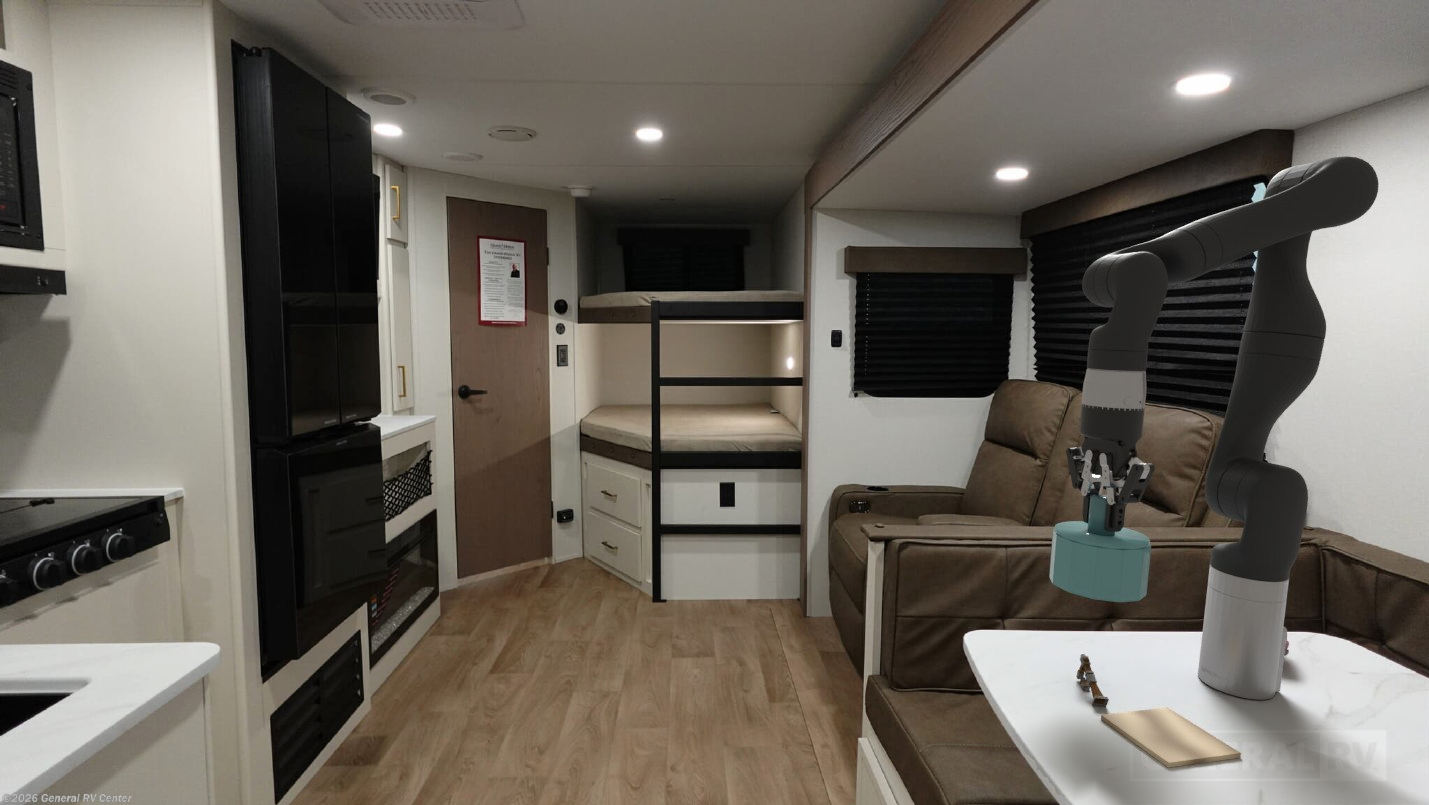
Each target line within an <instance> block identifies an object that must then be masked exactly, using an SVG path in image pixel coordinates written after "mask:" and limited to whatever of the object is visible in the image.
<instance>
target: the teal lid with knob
mask: <svg viewBox="0 0 1429 805" xmlns="http://www.w3.org/2000/svg"><path fill="white" fill-rule="evenodd" d="M1106 504H1108V502H1107V494H1101V495H1100V494H1093V495H1090V506H1089V517H1088V524H1087V523H1085V522H1084V521H1082V520H1073V521H1072V520H1071V521H1061V522H1059V523H1056V524H1055V525H1054V528H1053V529H1052V536H1051V537H1052V538H1051V549H1050V550H1051V551H1050V559H1049V560H1050V562H1049V574H1048V577H1049V579H1050V581H1051V583H1052V585H1054V586H1055V587H1057V588H1060V589H1061V590H1063V591H1065V592H1067V593H1070V594H1073V595H1077V596H1080V597H1084V598H1088V599H1090V600H1097V601H1098V600H1099V601H1105V602H1106V601H1107V602H1114V603H1127V602H1129V603H1130V602H1140V601H1141V600H1142V599H1144V598H1145V597H1146V596H1147V593H1148V583H1149V582H1148V581H1149V573H1150V563H1151V562H1150V561H1151V555H1152V554H1151V552H1152V544H1151V543H1150V542H1151V539H1150V537H1148V536H1147V535H1146V534H1144V533H1142V532H1140V531H1137V530H1133V529H1130V528H1128V527H1124V526H1123V528H1122V529H1121V531H1119V532H1109V531H1106V530H1105V529H1104V525H1105V514H1106Z"/></svg>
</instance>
